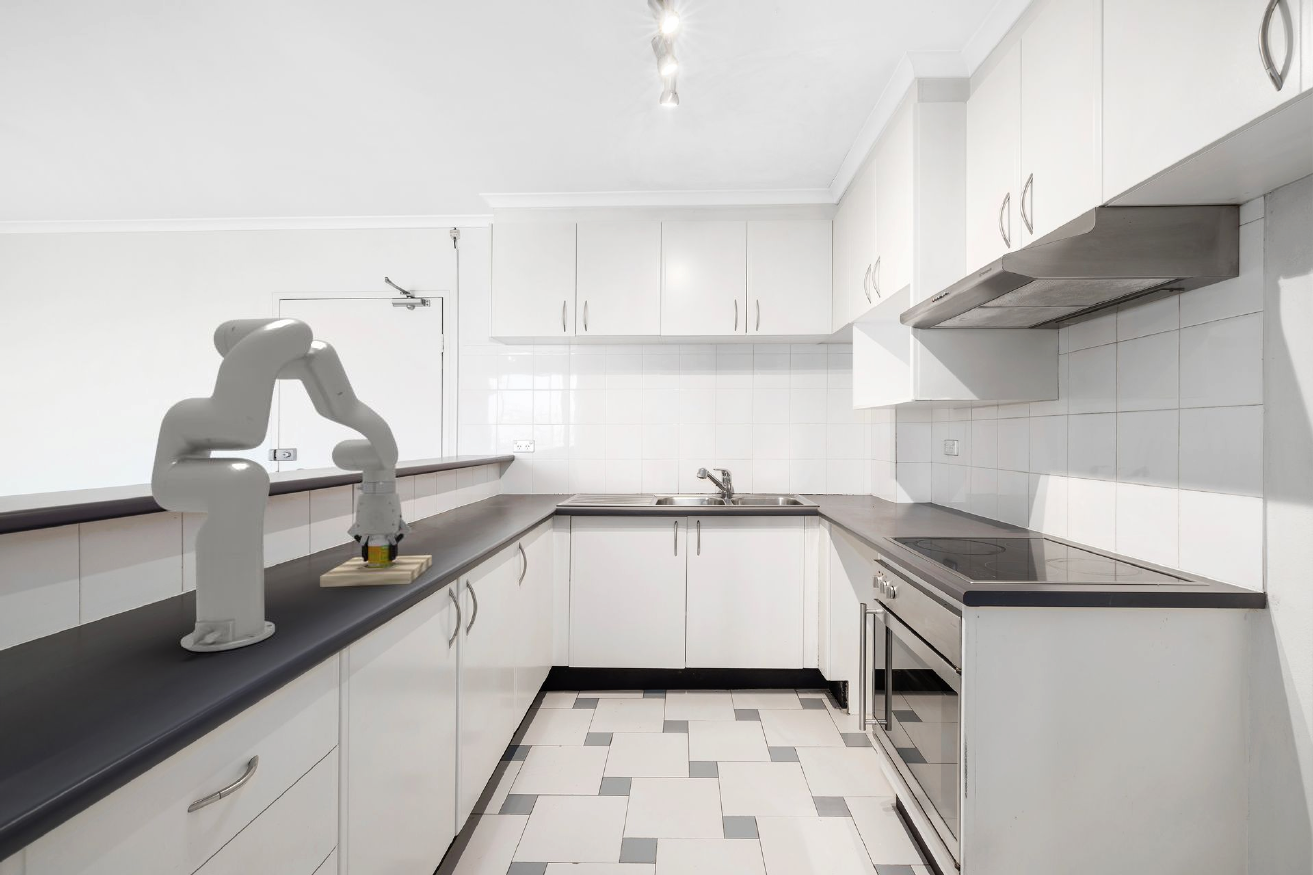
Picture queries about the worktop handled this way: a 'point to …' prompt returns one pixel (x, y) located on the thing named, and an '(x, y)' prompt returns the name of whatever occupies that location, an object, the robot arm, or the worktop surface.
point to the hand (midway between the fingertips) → (380, 559)
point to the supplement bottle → (379, 551)
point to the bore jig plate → (376, 572)
